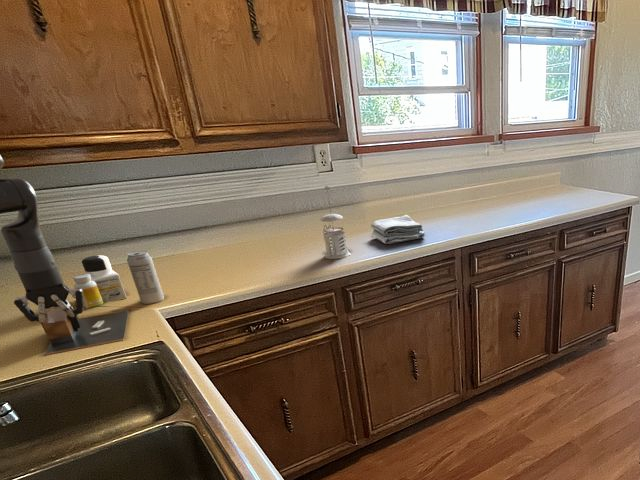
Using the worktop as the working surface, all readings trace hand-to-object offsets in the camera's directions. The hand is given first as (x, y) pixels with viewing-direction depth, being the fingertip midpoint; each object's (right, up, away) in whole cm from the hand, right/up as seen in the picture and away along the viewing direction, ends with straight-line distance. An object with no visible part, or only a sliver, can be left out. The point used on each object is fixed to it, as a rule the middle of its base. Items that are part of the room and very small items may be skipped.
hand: (64, 331), depth 131 cm
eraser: (0, -1, 0) cm, 1 cm away
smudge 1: (+4, +2, +6) cm, 7 cm away
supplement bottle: (-7, +8, +20) cm, 23 cm away
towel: (+72, +43, +84) cm, 118 cm away
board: (+5, 0, +3) cm, 5 cm away
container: (-7, +11, +26) cm, 30 cm away
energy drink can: (+9, +10, +22) cm, 26 cm away
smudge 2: (+8, 0, +1) cm, 8 cm away
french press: (+52, +32, +63) cm, 87 cm away
